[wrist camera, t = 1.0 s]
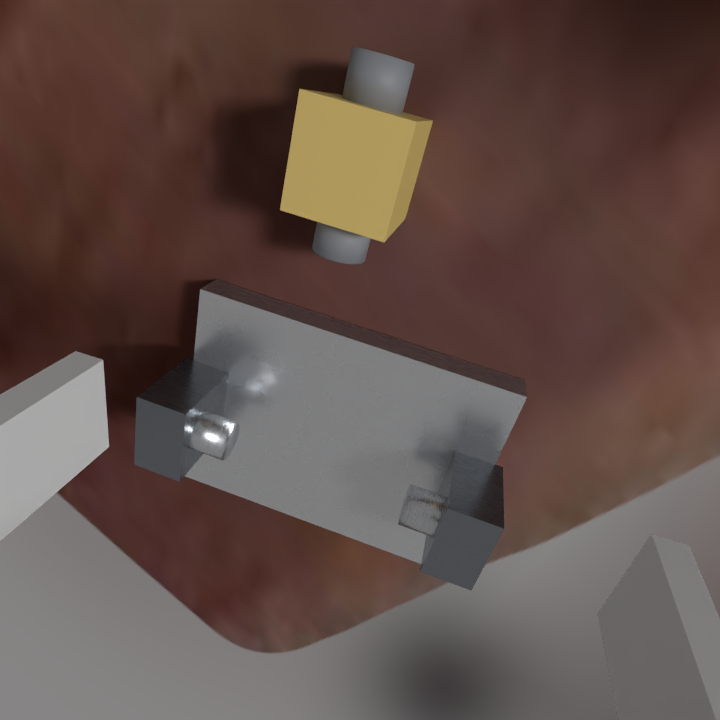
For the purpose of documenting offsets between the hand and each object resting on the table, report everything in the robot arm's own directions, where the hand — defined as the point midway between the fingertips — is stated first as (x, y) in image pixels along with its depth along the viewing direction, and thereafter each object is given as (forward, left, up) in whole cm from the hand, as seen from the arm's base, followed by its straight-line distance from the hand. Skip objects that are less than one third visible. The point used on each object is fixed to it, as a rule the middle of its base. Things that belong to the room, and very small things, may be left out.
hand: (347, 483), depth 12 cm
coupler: (-5, -5, -19) cm, 20 cm away
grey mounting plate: (+12, -3, -19) cm, 23 cm away
